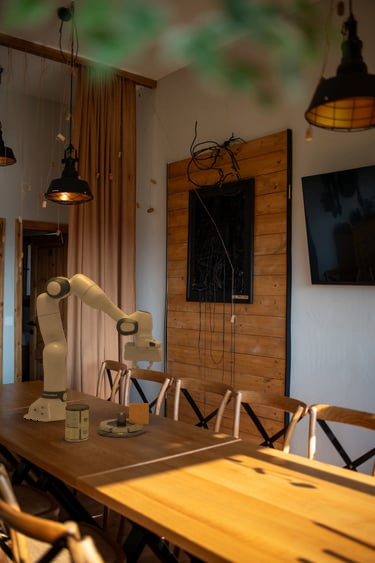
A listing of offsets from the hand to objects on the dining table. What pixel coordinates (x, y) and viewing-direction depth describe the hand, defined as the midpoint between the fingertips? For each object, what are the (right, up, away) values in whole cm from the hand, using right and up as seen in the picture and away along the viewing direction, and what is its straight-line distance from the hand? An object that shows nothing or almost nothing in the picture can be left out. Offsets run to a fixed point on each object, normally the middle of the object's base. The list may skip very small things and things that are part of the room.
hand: (143, 370), depth 271 cm
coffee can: (-26, -24, -37) cm, 51 cm away
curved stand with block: (-7, -22, -23) cm, 33 cm away
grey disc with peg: (-8, -24, -23) cm, 35 cm away
